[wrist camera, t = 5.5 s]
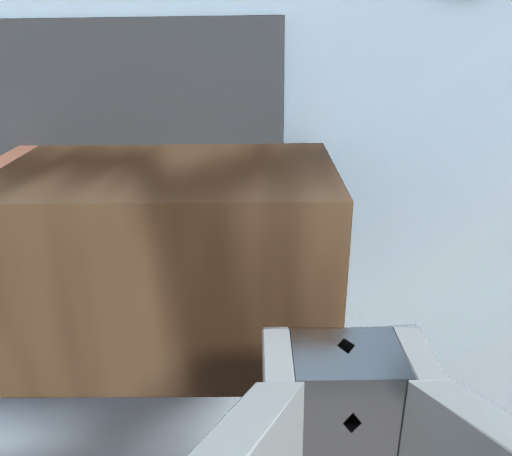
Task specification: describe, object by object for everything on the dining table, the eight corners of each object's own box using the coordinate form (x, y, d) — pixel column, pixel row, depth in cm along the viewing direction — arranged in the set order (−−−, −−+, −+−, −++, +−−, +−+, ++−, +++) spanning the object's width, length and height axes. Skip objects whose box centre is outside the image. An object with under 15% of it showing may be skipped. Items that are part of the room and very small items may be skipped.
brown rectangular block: (353, 201, 10) (-92, 204, 10) (339, 396, 12) (-32, 398, 12) (323, 143, 14) (19, 145, 15) (316, 290, 16) (48, 291, 17)
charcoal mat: (284, 15, 13) (284, 14, 13) (280, 367, 18) (281, 374, 18) (-60, 19, 14) (-69, 19, 13) (25, 369, 18) (20, 376, 18)
